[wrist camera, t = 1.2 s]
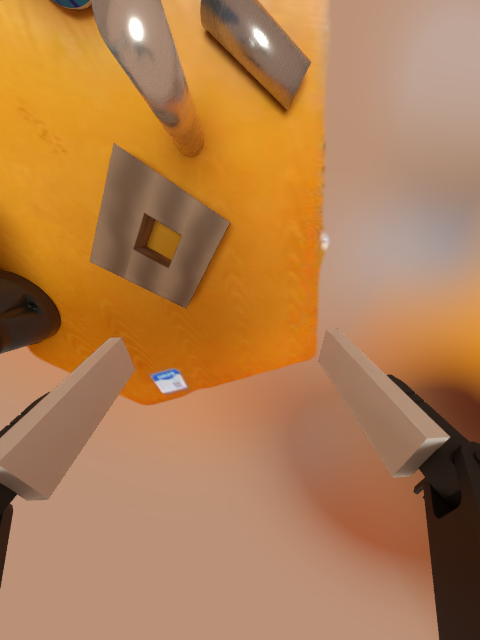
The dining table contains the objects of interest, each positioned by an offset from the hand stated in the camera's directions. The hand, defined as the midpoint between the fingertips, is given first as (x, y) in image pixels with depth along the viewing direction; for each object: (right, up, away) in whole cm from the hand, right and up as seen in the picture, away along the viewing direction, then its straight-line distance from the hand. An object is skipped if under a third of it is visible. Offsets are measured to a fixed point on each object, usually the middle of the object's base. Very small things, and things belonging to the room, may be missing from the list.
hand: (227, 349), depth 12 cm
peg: (-6, +27, +13) cm, 31 cm away
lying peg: (+3, +34, +10) cm, 36 cm away
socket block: (-12, +16, +19) cm, 27 cm away
